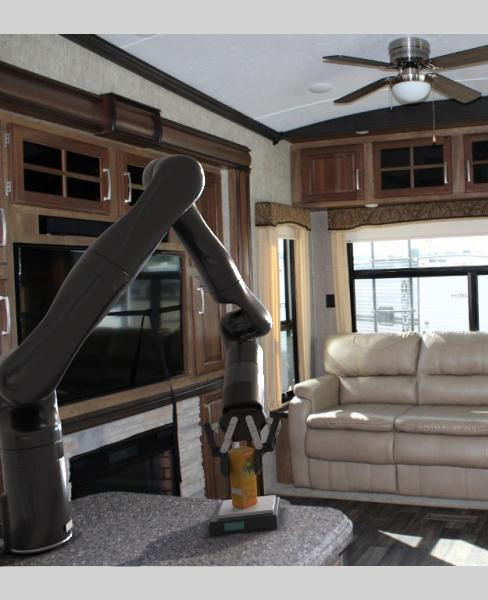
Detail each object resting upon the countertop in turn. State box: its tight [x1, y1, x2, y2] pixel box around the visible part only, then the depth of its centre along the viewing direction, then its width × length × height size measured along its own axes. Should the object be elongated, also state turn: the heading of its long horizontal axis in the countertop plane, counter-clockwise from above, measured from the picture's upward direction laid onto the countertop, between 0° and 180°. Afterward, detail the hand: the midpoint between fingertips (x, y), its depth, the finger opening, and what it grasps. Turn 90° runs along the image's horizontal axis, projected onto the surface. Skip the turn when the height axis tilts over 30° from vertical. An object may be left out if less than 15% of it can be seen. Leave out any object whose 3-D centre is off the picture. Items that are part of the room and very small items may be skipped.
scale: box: [209, 494, 281, 537], centre depth 116 cm, size 11×9×3 cm
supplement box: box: [229, 445, 258, 509], centre depth 116 cm, size 3×3×10 cm
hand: (242, 474), depth 114 cm, fingers closed on supplement box, 4 cm apart
